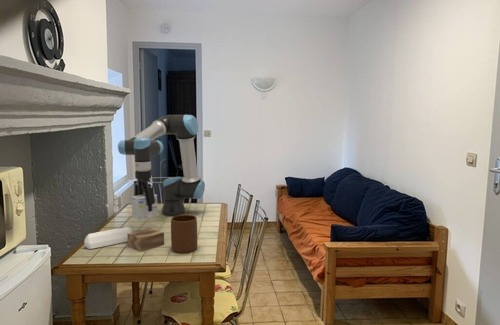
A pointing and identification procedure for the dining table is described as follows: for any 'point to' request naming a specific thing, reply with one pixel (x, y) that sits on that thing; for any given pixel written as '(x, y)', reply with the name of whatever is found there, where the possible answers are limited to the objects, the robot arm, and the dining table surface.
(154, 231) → the walnut block
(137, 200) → the light bulb box
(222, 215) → the dining table surface
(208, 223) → the dining table surface
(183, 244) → the mug
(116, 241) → the crystal
